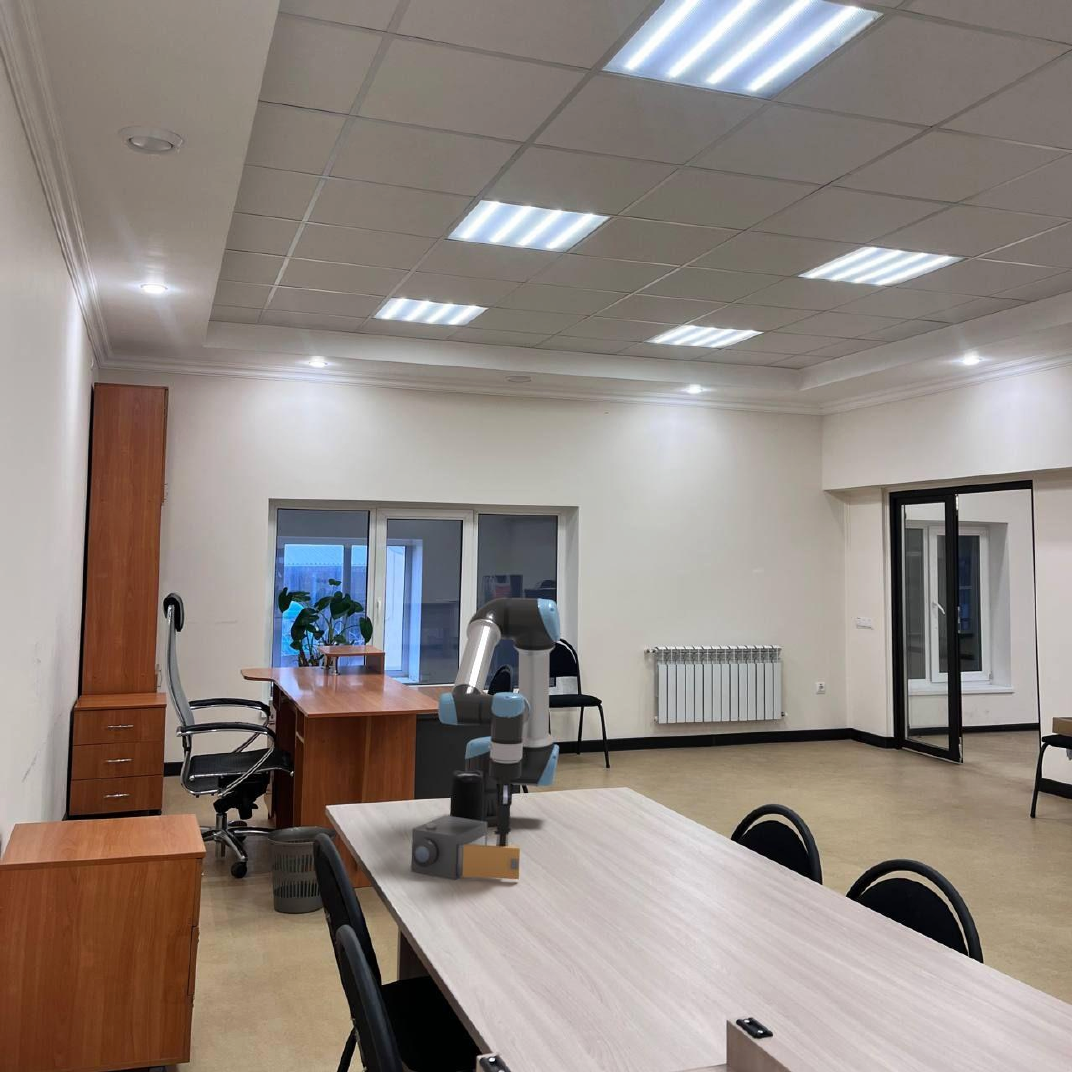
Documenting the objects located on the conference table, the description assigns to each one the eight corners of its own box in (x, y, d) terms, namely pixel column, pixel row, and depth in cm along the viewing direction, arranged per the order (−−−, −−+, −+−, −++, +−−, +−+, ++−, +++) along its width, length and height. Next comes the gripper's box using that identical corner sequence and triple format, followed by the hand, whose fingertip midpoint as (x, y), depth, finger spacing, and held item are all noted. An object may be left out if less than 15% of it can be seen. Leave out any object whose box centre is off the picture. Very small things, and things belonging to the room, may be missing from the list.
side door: (518, 877, 224) (519, 846, 224) (518, 880, 222) (519, 849, 222) (458, 874, 225) (459, 843, 225) (456, 877, 223) (457, 846, 223)
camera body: (443, 855, 242) (445, 812, 243) (486, 863, 237) (488, 818, 237) (404, 874, 226) (406, 828, 227) (449, 883, 221) (451, 836, 221)
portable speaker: (479, 843, 254) (482, 768, 254) (484, 854, 244) (487, 776, 245) (447, 844, 252) (450, 768, 253) (450, 855, 243) (453, 776, 243)
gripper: (489, 753, 233) (484, 852, 232) (490, 765, 220) (485, 869, 220) (520, 754, 233) (516, 853, 233) (523, 766, 221) (518, 870, 220)
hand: (501, 861), depth 226 cm, fingers closed
